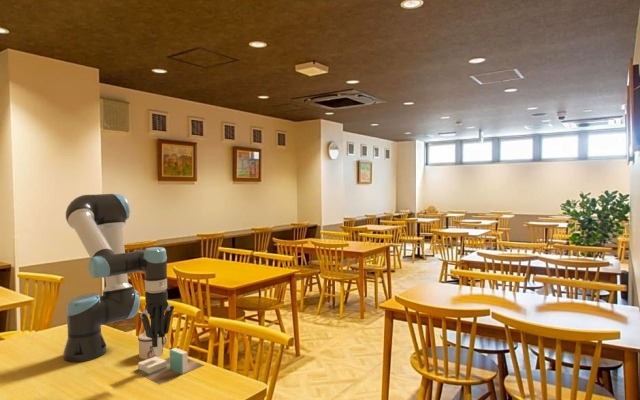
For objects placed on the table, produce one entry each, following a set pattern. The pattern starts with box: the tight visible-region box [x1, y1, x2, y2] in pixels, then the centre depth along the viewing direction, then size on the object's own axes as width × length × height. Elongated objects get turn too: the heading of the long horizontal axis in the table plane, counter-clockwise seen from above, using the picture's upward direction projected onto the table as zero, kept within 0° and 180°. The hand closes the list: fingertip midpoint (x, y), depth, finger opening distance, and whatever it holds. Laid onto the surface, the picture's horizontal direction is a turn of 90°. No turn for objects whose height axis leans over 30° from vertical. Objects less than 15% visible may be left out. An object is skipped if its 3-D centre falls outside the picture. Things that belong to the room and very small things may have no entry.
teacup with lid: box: [137, 332, 168, 360], centre depth 166 cm, size 12×9×12 cm
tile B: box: [169, 347, 189, 375], centre depth 150 cm, size 7×2×7 cm, turn 53°
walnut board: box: [133, 356, 205, 385], centre depth 152 cm, size 17×18×2 cm
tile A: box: [137, 356, 167, 375], centre depth 152 cm, size 7×2×7 cm
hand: (158, 354), depth 154 cm, fingers closed
